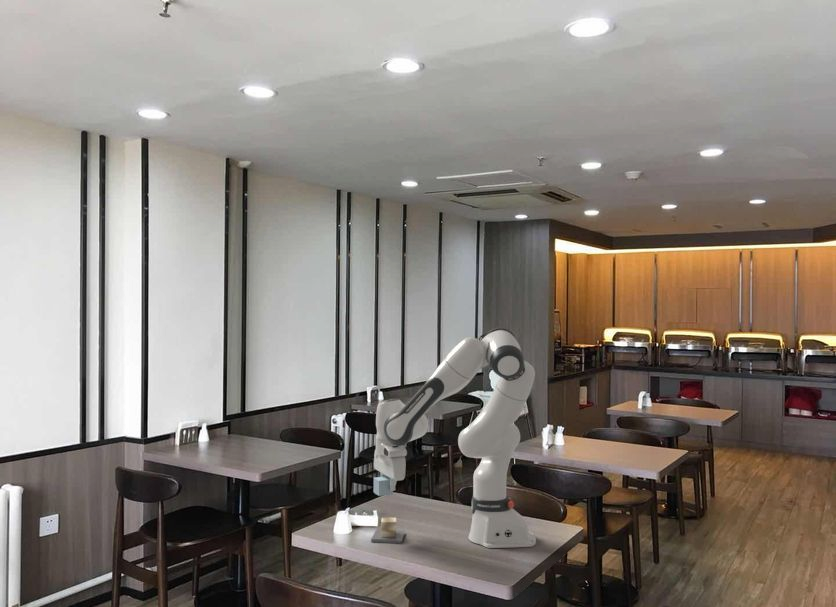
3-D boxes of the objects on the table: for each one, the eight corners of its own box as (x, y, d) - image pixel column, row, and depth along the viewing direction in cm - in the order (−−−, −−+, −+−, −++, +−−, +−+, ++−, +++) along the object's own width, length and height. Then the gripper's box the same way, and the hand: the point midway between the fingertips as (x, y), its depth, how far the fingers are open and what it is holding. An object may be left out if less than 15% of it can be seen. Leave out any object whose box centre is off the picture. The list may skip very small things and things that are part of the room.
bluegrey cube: (392, 494, 226) (392, 479, 226) (378, 496, 224) (379, 480, 224) (387, 490, 231) (387, 476, 231) (373, 492, 228) (373, 477, 229)
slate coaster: (404, 533, 232) (404, 530, 232) (401, 543, 222) (401, 540, 222) (376, 532, 233) (376, 529, 233) (371, 542, 223) (371, 539, 223)
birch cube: (395, 532, 230) (395, 517, 230) (396, 537, 225) (396, 521, 225) (381, 532, 230) (381, 517, 230) (381, 537, 225) (381, 522, 225)
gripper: (369, 442, 237) (369, 482, 236) (391, 453, 218) (390, 496, 218) (386, 441, 239) (386, 480, 239) (409, 451, 220) (408, 494, 220)
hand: (388, 488), depth 228 cm, fingers closed on bluegrey cube, 5 cm apart
